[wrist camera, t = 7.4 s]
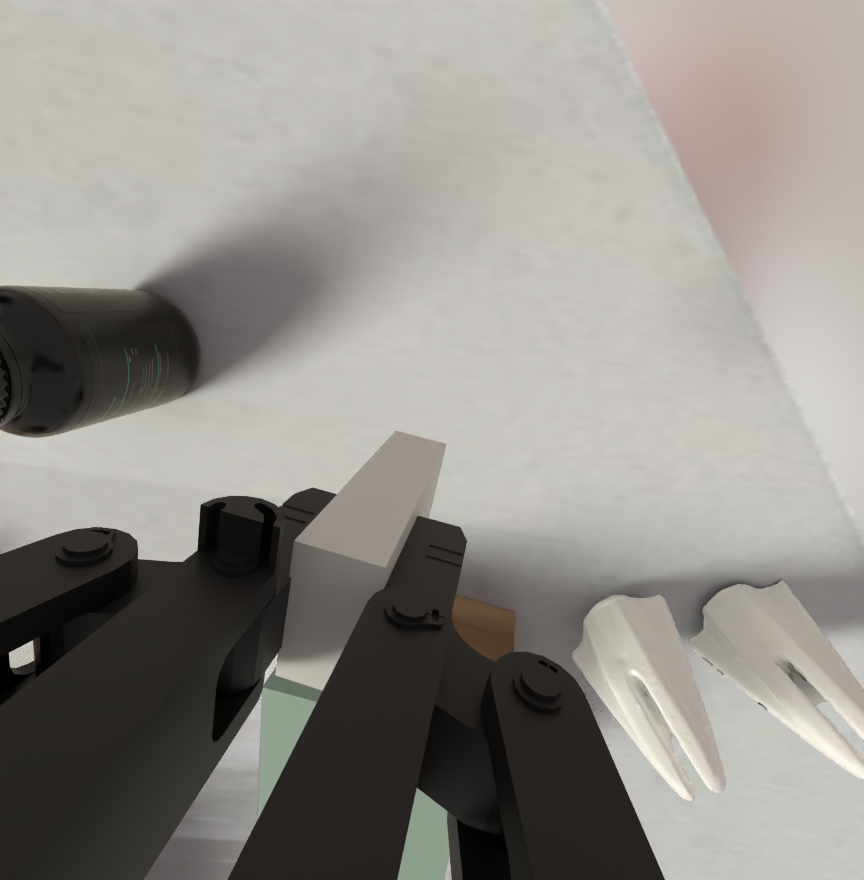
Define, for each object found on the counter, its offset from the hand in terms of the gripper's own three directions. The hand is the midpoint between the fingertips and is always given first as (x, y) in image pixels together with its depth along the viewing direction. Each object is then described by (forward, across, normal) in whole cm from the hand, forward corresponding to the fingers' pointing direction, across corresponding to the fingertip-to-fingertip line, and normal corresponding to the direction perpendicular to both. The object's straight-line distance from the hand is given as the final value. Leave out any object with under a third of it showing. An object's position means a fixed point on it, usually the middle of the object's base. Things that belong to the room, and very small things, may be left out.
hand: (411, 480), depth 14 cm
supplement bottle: (+14, -19, -2) cm, 24 cm away
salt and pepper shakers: (+14, +15, -10) cm, 22 cm away
